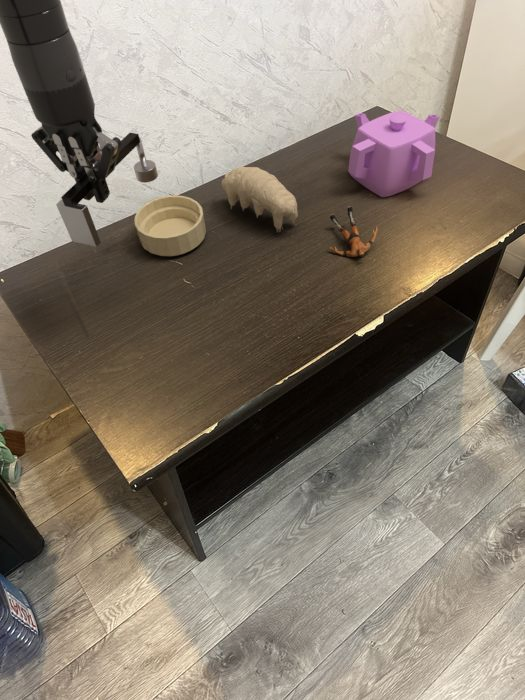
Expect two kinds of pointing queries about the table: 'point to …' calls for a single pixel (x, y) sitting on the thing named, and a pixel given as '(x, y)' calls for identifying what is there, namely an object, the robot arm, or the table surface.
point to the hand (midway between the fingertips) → (96, 197)
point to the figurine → (352, 238)
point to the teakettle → (392, 152)
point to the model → (260, 193)
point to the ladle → (78, 214)
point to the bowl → (170, 225)
